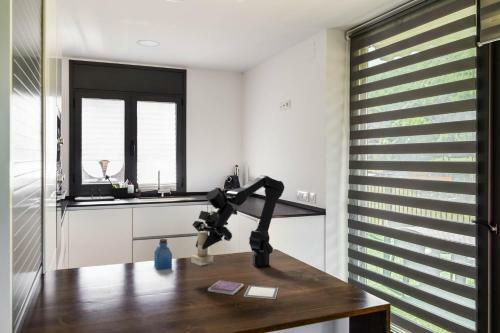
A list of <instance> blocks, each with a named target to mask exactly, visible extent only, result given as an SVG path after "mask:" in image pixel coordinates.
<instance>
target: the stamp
mask: <svg viewBox="0 0 500 333" xmlns="http://www.w3.org/2000/svg"><path fill="white" fill-rule="evenodd" d="M197 239H198V248H197V253H196V254H191V256H190V265H192V266H195V267H198V268H205V267H210V266H213V265H214V255H212V254H209V253H208V248H206V249H204V250H203V249H202V247H203V245H204V243H205V241H206V240H207V232H206V231H199V232H198V231H197Z"/></svg>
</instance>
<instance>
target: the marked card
mask: <svg viewBox="0 0 500 333" xmlns="http://www.w3.org/2000/svg"><path fill="white" fill-rule="evenodd" d="M278 291H279V287H274V286H262V285H248V288H247V289H246V291H245V293H244V294H243V297H249V298H259V299H270V300H271V299H272V300H276V297H277V293H278Z"/></svg>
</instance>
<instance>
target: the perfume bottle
mask: <svg viewBox="0 0 500 333" xmlns="http://www.w3.org/2000/svg"><path fill="white" fill-rule="evenodd" d="M158 245H159V246H156V248H155V249H154V250H155V251H154V255H153V256H154V262H153V263H154V264H153V267H154V268H155V269H156V270H157V271H159V270H160V271H162V270H168V269H169V270H171V269H172V268H173V254H172V251H171V250H170V248H169V246H168V239H167V238H161V239H159V243H158Z"/></svg>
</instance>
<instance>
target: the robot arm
mask: <svg viewBox="0 0 500 333" xmlns="http://www.w3.org/2000/svg"><path fill="white" fill-rule="evenodd" d="M262 188H264V195H265V201H264V204H263V207H262V210H261V215H260V218H259V220H258V225H257V228H256V229H255V230H251V232H250V236H249V238H248V240H249V242H248V244H249V246H250V250H251V251H252V252H253V255H252V265H253V266H254V267H256V268H257V269H258V268H259V269H260V268H269V267H271V266H272V265H270V254H273V250H274V247H273V246H272V245H271V243H270V234H269V228H270V225H271V222H272V218H273V214H274V211H275V208H276V204H277V201H278V200H279V199H280V198H281V197H282V196H283V192H284V190H285V184H284V182H283V181H282V180H277V179H274V178H272V177H270V176H268V175H264V174H263V175H262V174H261V175H258V176H257V177H256V178H254V179H253V180H251V181H250V182H248V183H247V184H245V185H243V186H241V187H238V188H233V189H230V190H228V191H227V192H226V193H224V191H223V190H222V188H221V187H215V189H212V190H210V191H209V192H207V194H206V196H205V199H206V200H207V201H208V202H209V203H210V205H211V206H212V207H213V209H216V211H214V210H213V211H212V210H211V212H209V211H205V210H201V211H200V213H199V215H198V220H195V221H194V222H193V223H192V227H193V228H194V229H195V230H196V231H197V233H198V232H199V231H206V232H207V240H206V241H205V243H204V245H203V247H202V249H203V250H204V249H206V248H207V249H208V248H209V247H211V246H213V245H215V244H216V243H219V242H222V241H223V239H224V241H228V242H230V241H231V239H232V238H233V233H232V232H231V231H230V230H229V229H228V228H227V226H228V225H229V223H228V221H229V219H230V218H231V217H232V215H234V216H235V215H236V216H237V215H238V211H237V210H238V209H237V207H234V206H239V207H240V206H242V205H243V204H244V203H245V202H247V201H248V200H247V199H248V198H249V196H251V195H253V194H254V193H255V192H257V191H259V190H260V189H262ZM200 220H202V221H200ZM222 238H223V239H222ZM195 247H196V249H198V238H197V240H196V242H195Z"/></svg>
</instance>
